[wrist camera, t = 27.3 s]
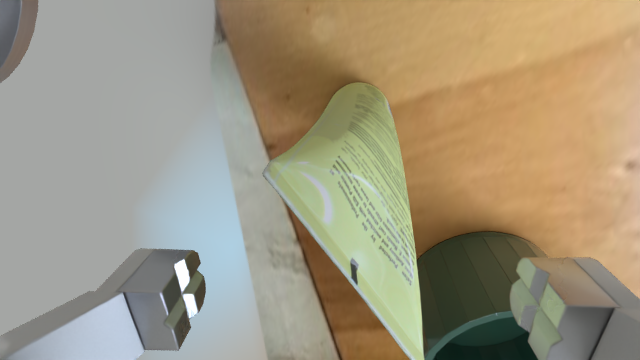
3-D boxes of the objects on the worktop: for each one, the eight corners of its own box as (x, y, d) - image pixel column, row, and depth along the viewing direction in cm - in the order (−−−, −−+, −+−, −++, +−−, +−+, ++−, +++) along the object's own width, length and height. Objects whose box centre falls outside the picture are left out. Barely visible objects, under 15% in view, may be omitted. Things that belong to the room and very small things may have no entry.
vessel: (398, 339, 36) (411, 430, 28) (408, 229, 30) (428, 304, 22) (536, 347, 34) (592, 446, 26) (575, 233, 28) (664, 314, 20)
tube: (312, 133, 27) (233, 330, 9) (327, 70, 25) (260, 171, 7) (379, 150, 27) (426, 378, 9) (399, 89, 25) (511, 235, 7)
